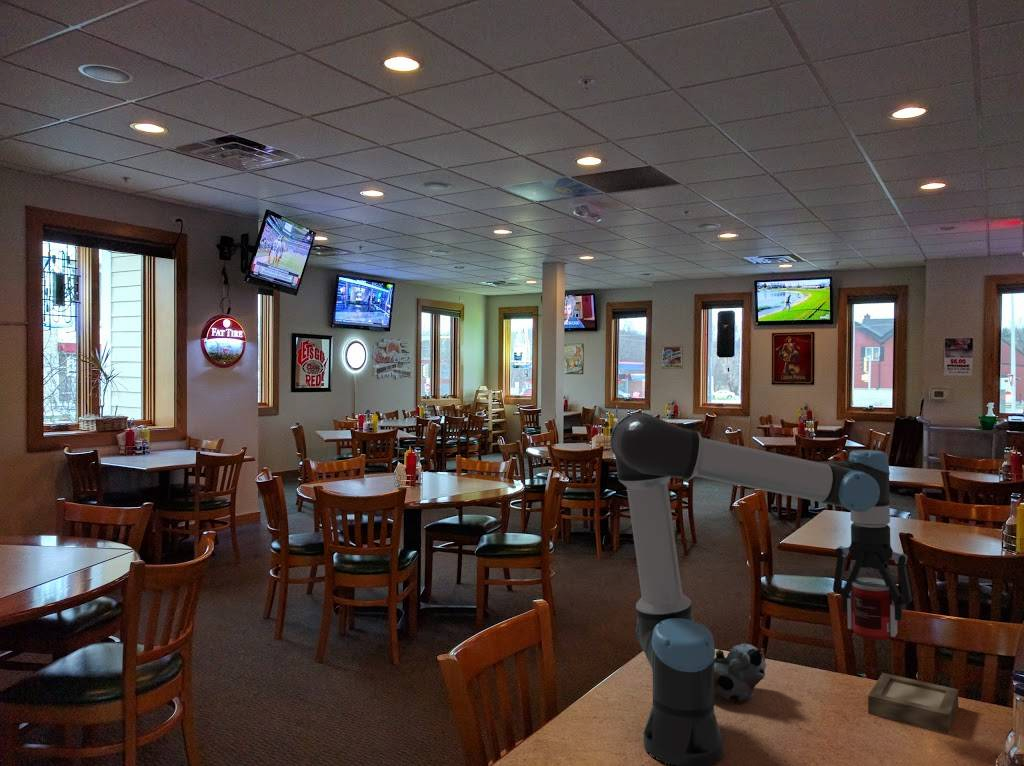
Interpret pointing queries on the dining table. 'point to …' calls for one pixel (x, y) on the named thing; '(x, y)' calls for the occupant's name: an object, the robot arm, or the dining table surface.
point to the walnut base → (914, 702)
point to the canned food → (871, 609)
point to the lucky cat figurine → (739, 672)
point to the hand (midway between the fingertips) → (872, 630)
